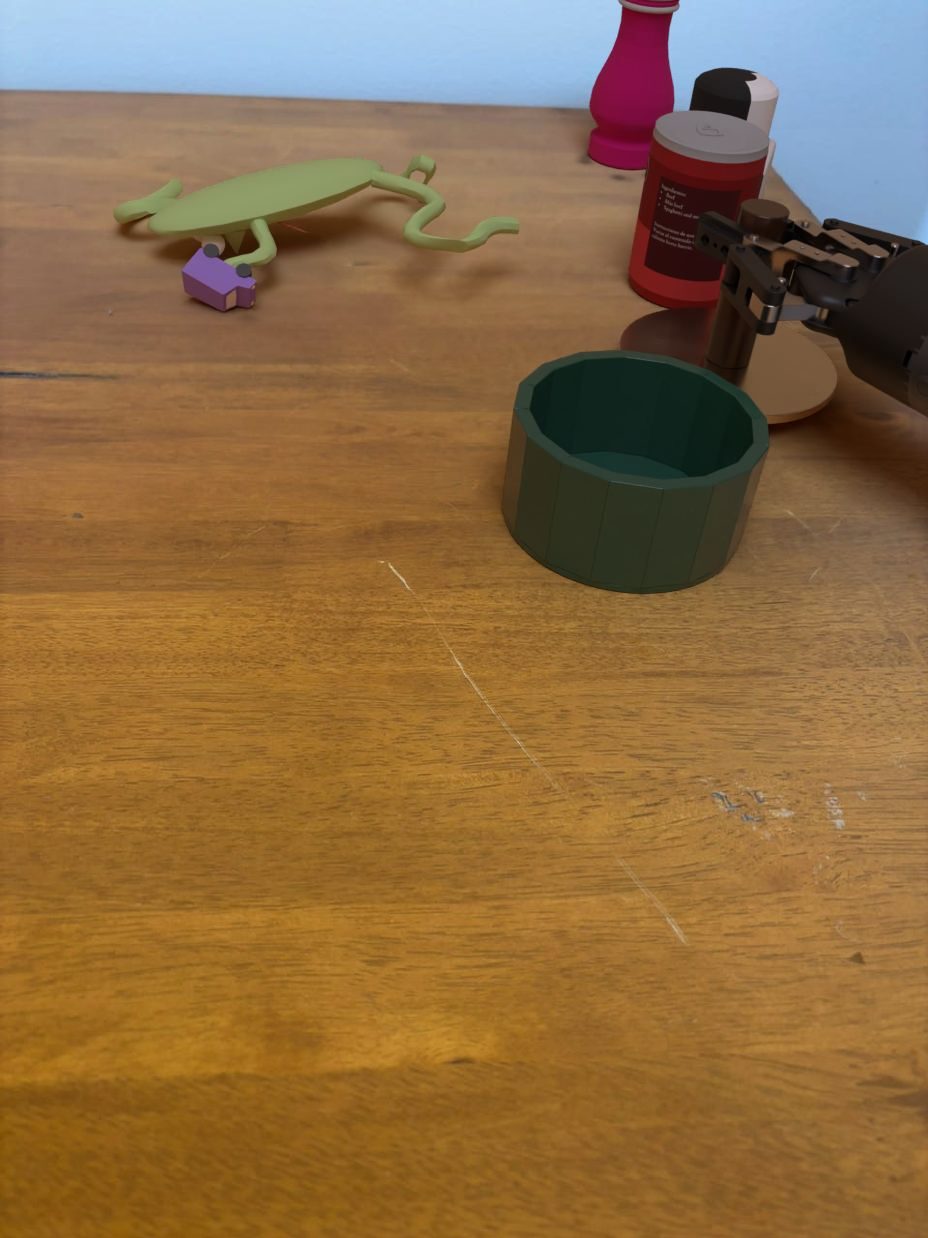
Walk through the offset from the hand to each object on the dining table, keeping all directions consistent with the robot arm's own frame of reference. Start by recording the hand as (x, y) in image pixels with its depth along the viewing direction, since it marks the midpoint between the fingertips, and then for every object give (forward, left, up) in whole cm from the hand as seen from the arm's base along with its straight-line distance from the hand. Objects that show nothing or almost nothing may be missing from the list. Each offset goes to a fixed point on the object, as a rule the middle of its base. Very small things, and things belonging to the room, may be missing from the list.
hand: (720, 223), depth 68 cm
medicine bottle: (-8, -18, -9) cm, 22 cm away
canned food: (-3, -10, -9) cm, 14 cm away
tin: (+10, +16, -9) cm, 21 cm away
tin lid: (-1, +3, -8) cm, 9 cm away
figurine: (+22, -17, -9) cm, 29 cm away
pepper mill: (-7, -35, -9) cm, 37 cm away
